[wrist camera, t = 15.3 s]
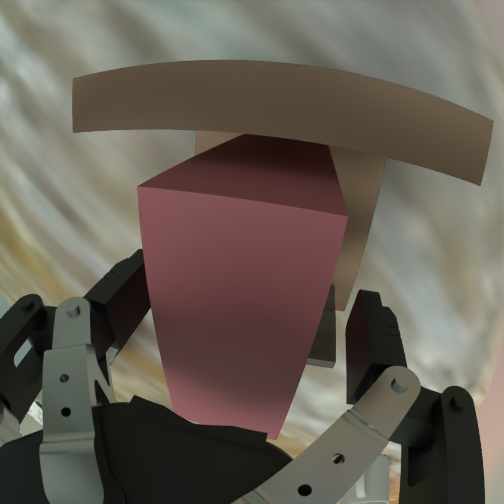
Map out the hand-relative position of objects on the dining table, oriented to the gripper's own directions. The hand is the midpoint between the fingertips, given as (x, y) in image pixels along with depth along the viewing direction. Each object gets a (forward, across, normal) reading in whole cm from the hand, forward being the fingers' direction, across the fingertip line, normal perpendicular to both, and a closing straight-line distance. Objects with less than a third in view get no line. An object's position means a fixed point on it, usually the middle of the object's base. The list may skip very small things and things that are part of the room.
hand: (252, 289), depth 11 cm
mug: (+11, -24, +46) cm, 53 cm away
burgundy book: (+10, 0, 0) cm, 10 cm away
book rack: (+12, 0, 0) cm, 12 cm away
